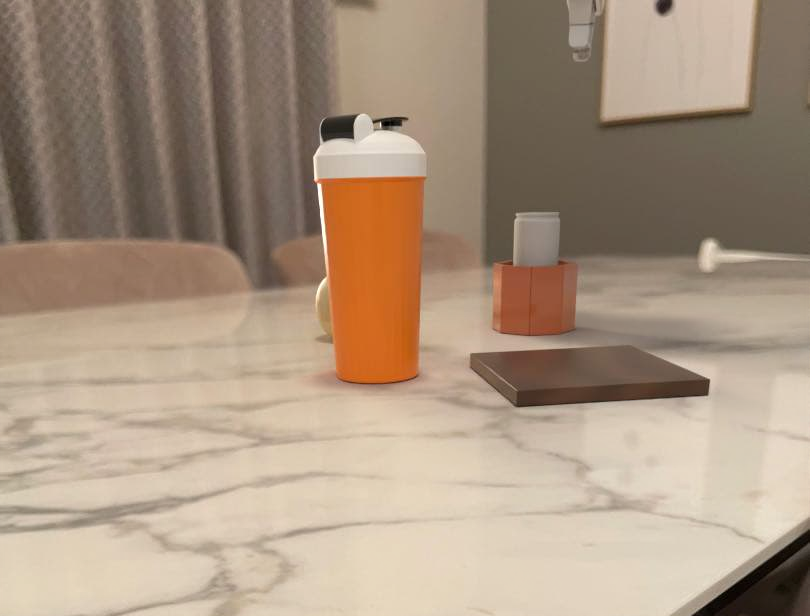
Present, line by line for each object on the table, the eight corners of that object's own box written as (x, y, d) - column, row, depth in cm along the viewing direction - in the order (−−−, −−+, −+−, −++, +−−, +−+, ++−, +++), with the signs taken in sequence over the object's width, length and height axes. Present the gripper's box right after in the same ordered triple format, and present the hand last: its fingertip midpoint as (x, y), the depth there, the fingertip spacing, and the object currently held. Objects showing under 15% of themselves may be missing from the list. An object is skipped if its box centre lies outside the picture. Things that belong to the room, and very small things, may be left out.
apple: (406, 328, 93) (403, 269, 87) (359, 369, 90) (353, 311, 83) (352, 301, 96) (345, 243, 90) (304, 340, 93) (295, 281, 86)
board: (629, 358, 77) (630, 344, 77) (708, 394, 64) (710, 379, 63) (469, 366, 75) (470, 353, 75) (516, 406, 62) (517, 390, 61)
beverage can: (502, 329, 94) (505, 213, 89) (530, 323, 97) (535, 211, 92) (535, 333, 91) (540, 214, 86) (564, 328, 94) (570, 212, 89)
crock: (557, 321, 98) (560, 258, 95) (582, 332, 91) (586, 264, 88) (487, 324, 97) (488, 260, 94) (506, 336, 89) (508, 267, 87)
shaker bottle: (448, 370, 74) (448, 115, 66) (390, 391, 67) (381, 109, 59) (366, 361, 79) (357, 122, 71) (304, 379, 72) (286, 117, 64)
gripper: (628, -159, 69) (612, 37, 74) (624, -87, 87) (611, 66, 93) (550, -152, 70) (540, 40, 75) (562, -83, 88) (553, 68, 94)
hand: (579, 54), depth 84 cm, fingers open, 8 cm apart
